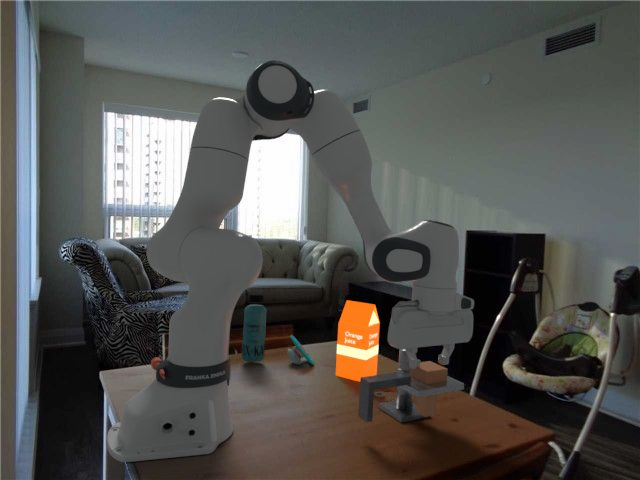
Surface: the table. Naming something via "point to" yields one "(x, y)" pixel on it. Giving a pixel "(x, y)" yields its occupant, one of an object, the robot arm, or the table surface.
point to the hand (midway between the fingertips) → (429, 365)
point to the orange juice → (357, 341)
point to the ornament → (298, 353)
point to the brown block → (428, 375)
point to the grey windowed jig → (400, 392)
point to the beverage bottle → (254, 330)
